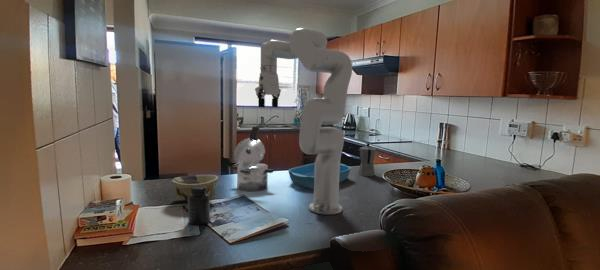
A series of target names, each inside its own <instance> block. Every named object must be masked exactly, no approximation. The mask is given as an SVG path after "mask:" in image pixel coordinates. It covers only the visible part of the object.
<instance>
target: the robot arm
mask: <svg viewBox="0 0 600 270" xmlns="http://www.w3.org/2000/svg"><path fill="white" fill-rule="evenodd" d="M327 46H328V39H327V36H326V35H325V34H324V33H323V32H322V31H319V30H315V29H310V28H305V27H299V28H296V29H294V31H293V32H292V33H291V34H290V37H289V41H284V40H279V39H271V40H268V41H267V42H263V43H261V44H260V67H259V69H260V73H259V77H258V86H256V88H254V90H255V94H256V96H257V99H258V102H257V103H258V108H265V105H266V104H265V102H266V101H265V99H266V98H265V96H266V95H267V96H271V97H272V99H271V107H272V108H278V107H279V104H278V103H279V97H280V96H281V92H282V89H281V88H280V81H279V75H278V73H277V72H278V69H277V68H278V66H277V65H278V59H284V60H295V59H298V61H300V63H301V64H302V66H303V67H304V68H305V69H306V70H308V71H310V72H315V73H323V74H324V73H328V74H330V75H329V77H328V78H327V80H326V82H325V84H324V86H323V93H322V97H312V98H310V99H308V100H307V101H306V102H305V104H304V106H303V108H302V112H301V113H302V114H301V118H300V119H301V120H300V127H299V137H298V143H299V148H300V150H301V152H302V153H304V154H305V155H317V156H316V158H315V161H314V163H315V170H314V189H313V199H312V200H313V202H311V203H309V206H308V208H309V210H310V211H311V212H312V213H316V214H319V215H323V216H324V215H328V216H331V215H337V214H340V213H342V211H343V206H342V205H341V204H340V203H339V194H340V182H339V175H340V164H341V160H342V159H341V157H342V153H343V148H344V144H345V140H344V139H345V137H344V134H343V132H342V131H341V130H340V129H339V128H338V127H333V126H327V125H336V124H340V123H341V122H342V121H343V120H344V119H343V118H344V115H345V109H346V102H347V96H348V89H349V84H350V81H351V78H352V73H353V63H352V59H351V58H350V56H349V55H348V54H347V53H346V52H343V51H340V50H338V49H337V50H336V49H332V48H327ZM322 125H324V126H323V127H322ZM325 125H326V126H325Z"/></svg>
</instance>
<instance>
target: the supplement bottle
mask: <svg viewBox="0 0 600 270" xmlns="http://www.w3.org/2000/svg"><path fill="white" fill-rule="evenodd" d="M209 195H210V194H209V193H207V194H206V186H203V185H197V186H193V187H191V195H190V196H189V197H188V202H187V207H188V208H187V209H188V215H187V217H188V223H189V224H190V225H192V226H203V225H207V224H208V223H209V222H210V219H211V215H210V214H211V211H210V210H211V209H210V208H211V207H210V200H209Z"/></svg>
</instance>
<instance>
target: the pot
mask: <svg viewBox="0 0 600 270" xmlns="http://www.w3.org/2000/svg"><path fill="white" fill-rule="evenodd" d="M268 167H269V166H268V164H265V163H261V162H259V163H258V164H257V165H255V166H253V167H250V168H244V167H241V166H239V165H238V164H237V165H233V166H232V170H236V171H237V173H236V175H237V177H236V179H237V180H236V184H237V185H236V187H237V189H238V190H240V191H243V192H259V191H264V190H266V189H268V179H269V178H268V177H269V176H268V174H272V173H274V169H273V168H268Z"/></svg>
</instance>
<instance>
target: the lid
mask: <svg viewBox="0 0 600 270" xmlns="http://www.w3.org/2000/svg"><path fill="white" fill-rule="evenodd" d="M259 132H260V126H252V128H251V132H250V134H249V137H248V138H244V139H243V140H241V141H240V142H239V143H238V144H237V145H236V146H235V148H234V151H233V159H234V162H235V163H236V164H237V166H238V165H239V166H241V167H244V168H250V167H253V166H255V165H257V164H258V163H261V161H262V160H263V159H264V156H265V153H266V148H265V145H264V143H263V142H262V141H261V140H260V139H259V138H258V136H259V134H260V133H259Z"/></svg>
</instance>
